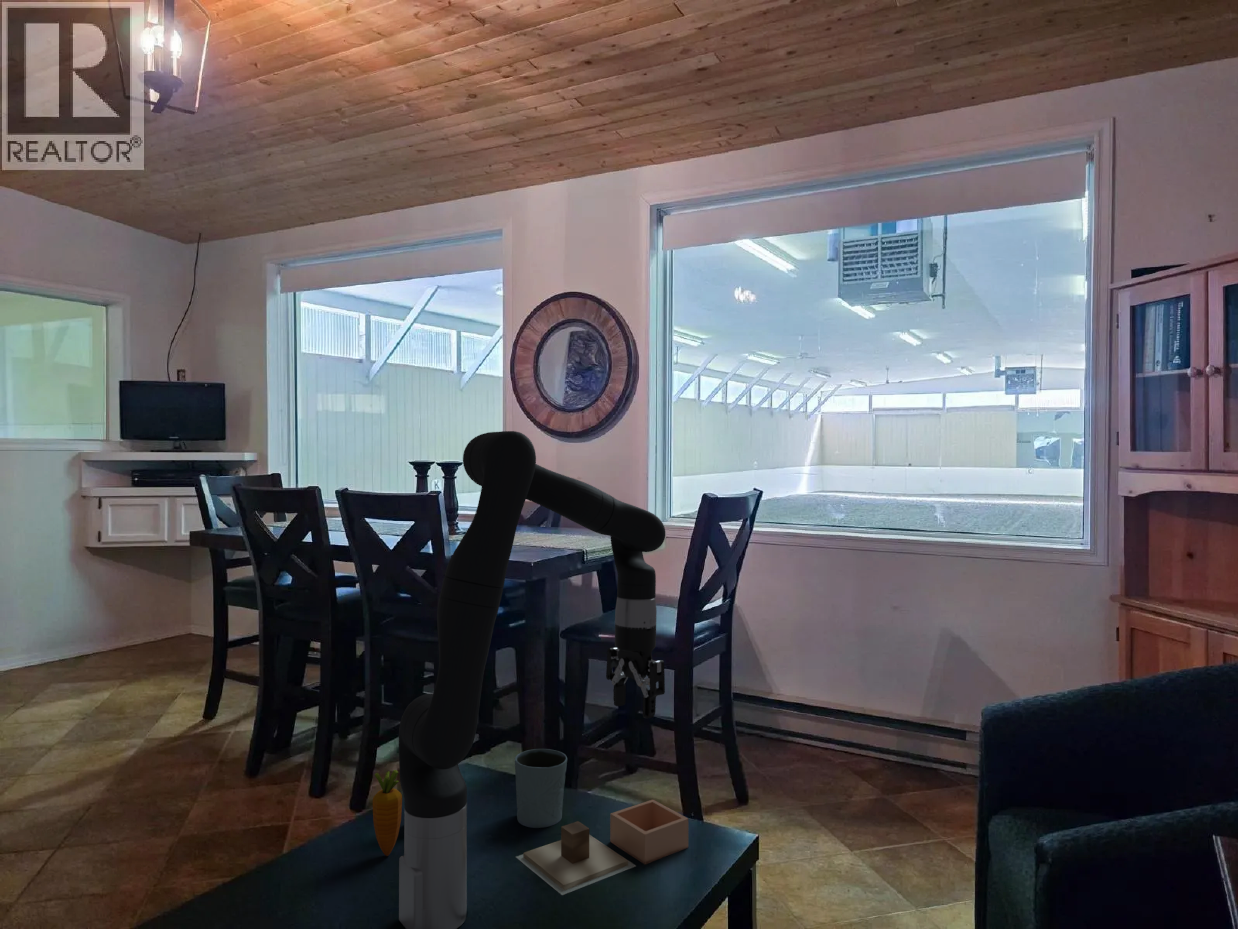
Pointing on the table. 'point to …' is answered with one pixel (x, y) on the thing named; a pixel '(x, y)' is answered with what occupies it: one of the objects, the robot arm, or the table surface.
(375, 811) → the carrot
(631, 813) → the open square box
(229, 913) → the table surface
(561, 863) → the lid
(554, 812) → the grey cup
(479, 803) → the table surface
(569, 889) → the tray
